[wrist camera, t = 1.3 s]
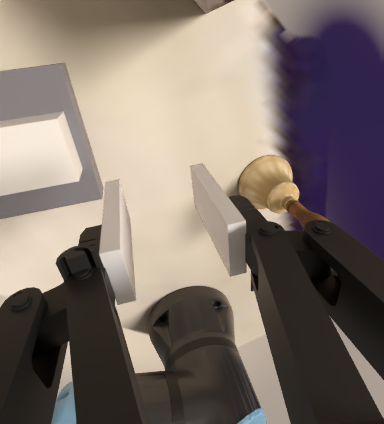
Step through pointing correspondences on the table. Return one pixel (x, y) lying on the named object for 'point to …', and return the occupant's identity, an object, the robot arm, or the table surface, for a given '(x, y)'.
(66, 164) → the white rectangular block
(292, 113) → the table surface
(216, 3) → the coffee box
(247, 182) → the hand bell
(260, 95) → the table surface
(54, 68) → the plate
